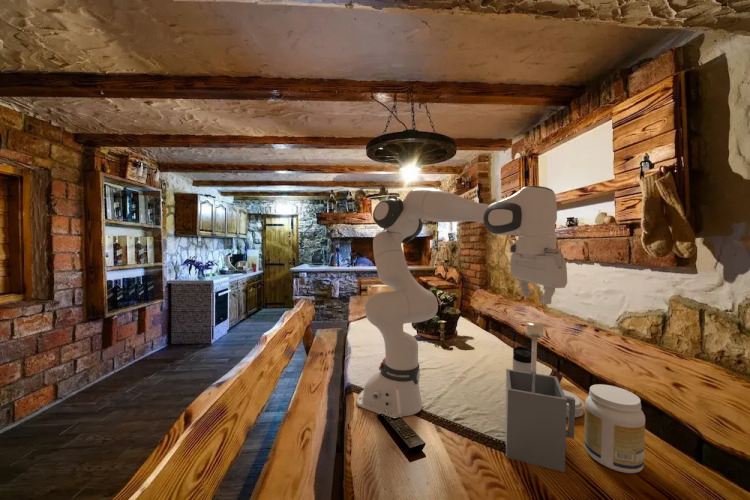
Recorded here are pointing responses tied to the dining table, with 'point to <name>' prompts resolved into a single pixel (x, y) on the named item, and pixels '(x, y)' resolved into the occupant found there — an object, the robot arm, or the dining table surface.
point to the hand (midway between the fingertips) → (535, 299)
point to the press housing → (537, 420)
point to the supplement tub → (615, 428)
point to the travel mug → (522, 359)
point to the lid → (578, 404)
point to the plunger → (534, 348)
